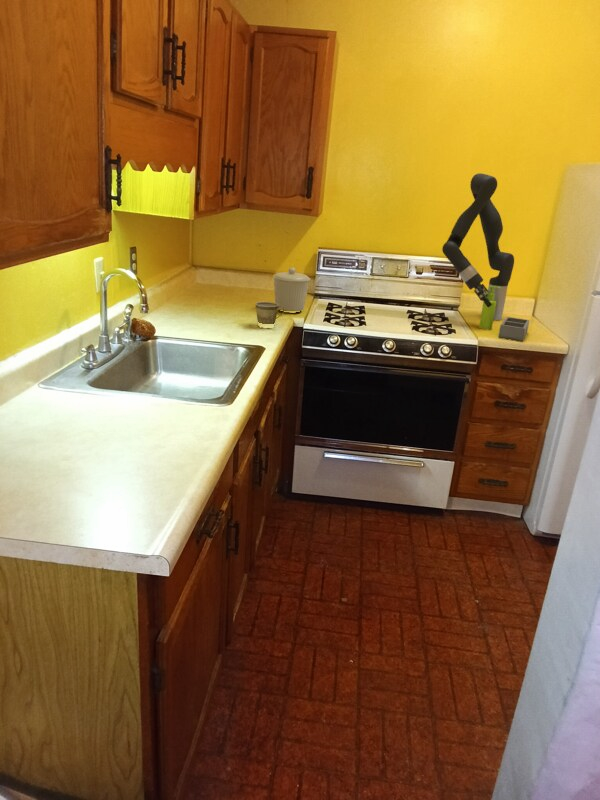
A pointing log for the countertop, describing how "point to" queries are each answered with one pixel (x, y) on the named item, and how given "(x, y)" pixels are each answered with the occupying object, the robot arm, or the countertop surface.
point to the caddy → (514, 329)
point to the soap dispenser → (488, 310)
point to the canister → (291, 290)
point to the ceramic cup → (267, 312)
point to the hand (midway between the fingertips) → (491, 304)
